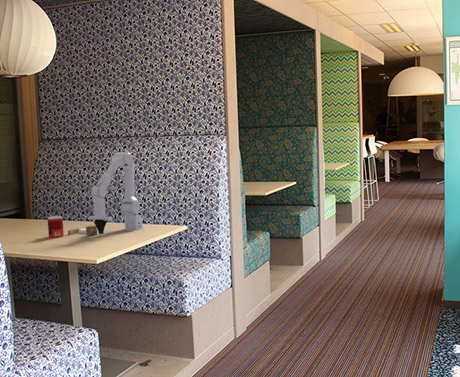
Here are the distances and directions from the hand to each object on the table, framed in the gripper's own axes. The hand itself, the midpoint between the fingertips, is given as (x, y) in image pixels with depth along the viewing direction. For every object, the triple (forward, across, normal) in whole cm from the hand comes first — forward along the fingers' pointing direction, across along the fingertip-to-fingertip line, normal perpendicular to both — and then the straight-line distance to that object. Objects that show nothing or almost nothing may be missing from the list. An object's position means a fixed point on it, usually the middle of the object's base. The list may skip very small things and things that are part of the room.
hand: (101, 233), depth 332 cm
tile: (0, -11, +6) cm, 13 cm away
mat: (+2, -12, +6) cm, 13 cm away
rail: (+1, -20, 0) cm, 20 cm away
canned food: (+2, -24, -9) cm, 25 cm away
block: (+1, -6, 0) cm, 7 cm away
